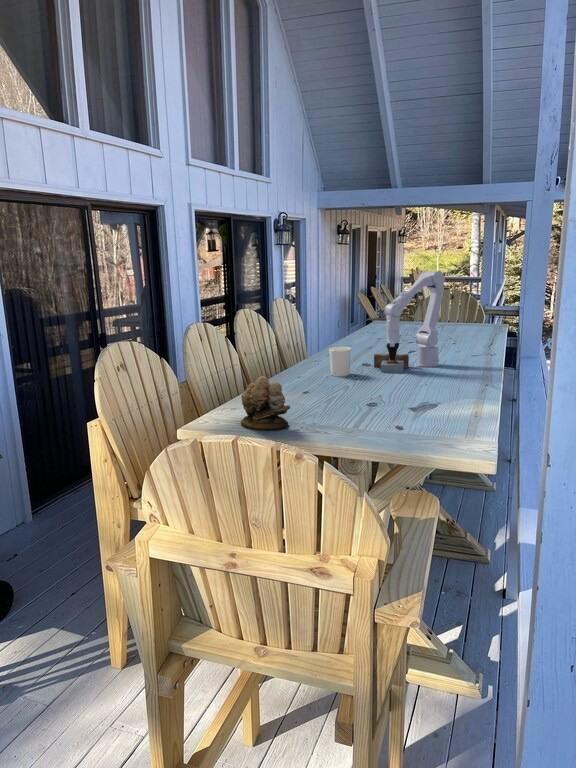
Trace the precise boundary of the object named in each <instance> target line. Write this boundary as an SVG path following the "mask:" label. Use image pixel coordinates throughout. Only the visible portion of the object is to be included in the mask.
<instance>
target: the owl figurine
mask: <svg viewBox="0 0 576 768" xmlns="http://www.w3.org/2000/svg"><path fill="white" fill-rule="evenodd" d="M282 391H283V387H282V384H281V383H280V382H275V381H274V382H273V381H272V382H270V381H269V378H268V377H266V376H265V375H262V376H259V377H257V378H256V380H255V382H250V383H249V384H248V385H247V388H246V389H245V391H243V393H241V404H242V405H243V410H244V411H245V413H246V416H244V417H243V419H241V420H240V425H241V427H243V428H246V429H247V430H253V431H261V432H273V431H274V432H275V431H280V430H283V429H285V428H286V427H288V426H289V422H288V420H286V419H285V418H284V417H283V416H279V415H285V414H286V413H288V410H290V409H291V405H285V404H286V397H285V395H284V393H283V392H282Z"/></svg>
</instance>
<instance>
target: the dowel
mask: <svg viewBox="0 0 576 768" xmlns="http://www.w3.org/2000/svg"><path fill="white" fill-rule="evenodd" d="M397 354H398V352H396V358H397ZM396 358H395V360H390V357H389V364H396Z"/></svg>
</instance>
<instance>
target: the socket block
mask: <svg viewBox="0 0 576 768" xmlns="http://www.w3.org/2000/svg"><path fill="white" fill-rule="evenodd" d="M404 370H405V368H404V360H396V364H389V360H382V362H381V368H380V373H381V372H382V373H384V374H390V373H391V374H404Z"/></svg>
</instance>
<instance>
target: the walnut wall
mask: <svg viewBox="0 0 576 768" xmlns="http://www.w3.org/2000/svg"><path fill="white" fill-rule="evenodd" d="M409 354H410V353H406V354H405V353H401V354H400V353H397V358H396V360H404V369H409V367H410V366H409V365H410V364H409V363H410V362H409V358H410V355H409ZM382 360H389V353H374V354H373V368H374V367H378V369H379V368H380V369H381V362H382Z"/></svg>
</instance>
